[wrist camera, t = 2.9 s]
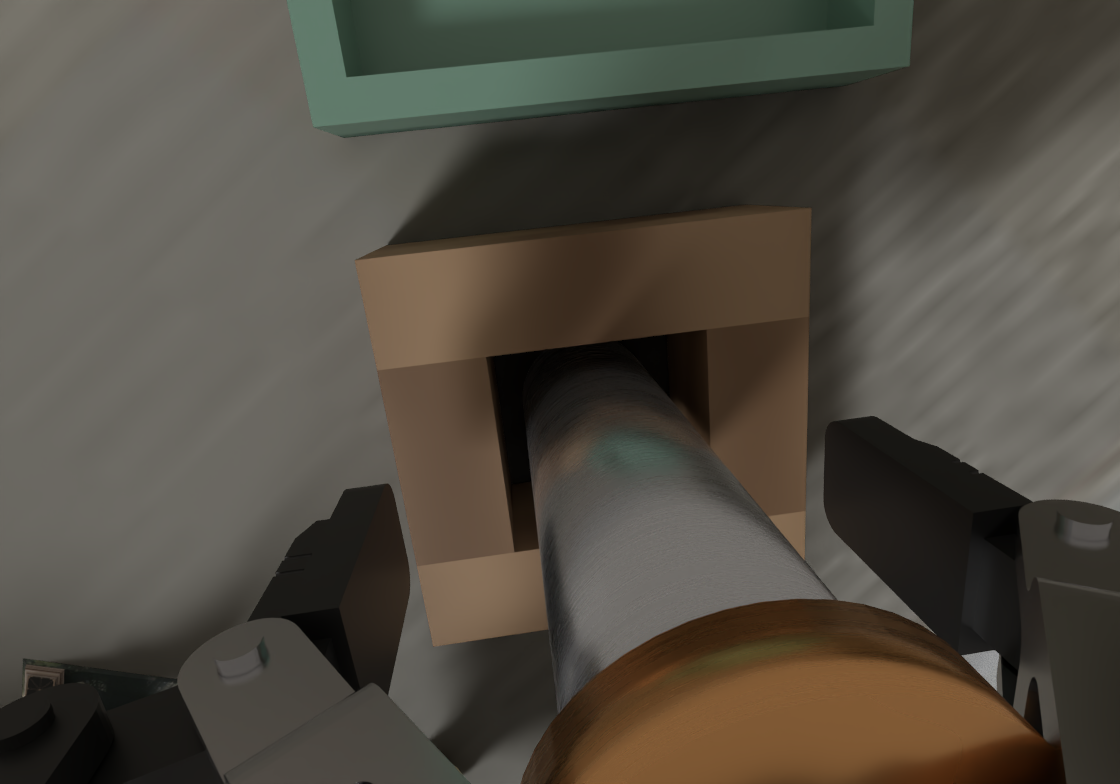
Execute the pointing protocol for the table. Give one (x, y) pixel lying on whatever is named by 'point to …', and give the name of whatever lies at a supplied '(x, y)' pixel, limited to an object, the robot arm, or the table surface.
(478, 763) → the table surface
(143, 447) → the table surface
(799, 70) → the tray
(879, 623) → the pin
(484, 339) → the socket block
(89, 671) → the eiffel tower figurine
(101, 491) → the table surface
